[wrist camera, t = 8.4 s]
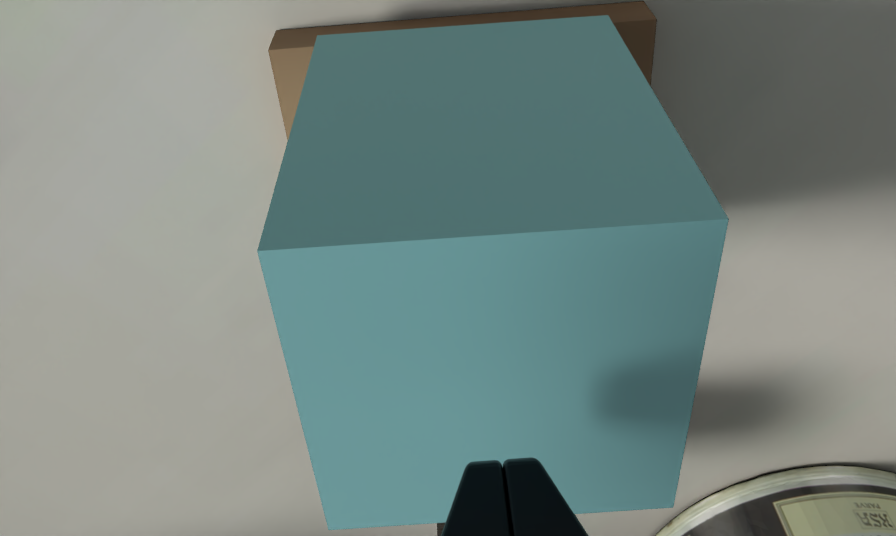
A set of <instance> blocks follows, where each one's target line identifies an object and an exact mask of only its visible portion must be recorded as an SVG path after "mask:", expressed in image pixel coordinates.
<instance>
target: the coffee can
mask: <svg viewBox="0 0 896 536" xmlns="http://www.w3.org/2000/svg"><path fill="white" fill-rule="evenodd" d="M655 536H896V474H894V473H892V472H886V471H881V470H875V469H869V468H863V467H855V466H818V467H809V468H800V469H794V470H789V471H784V472H779V473H773V474H767V475H764V476H760V477H758V478H756V479H754V480H750V481H747V482H743V483H740V484H737V485H734V486H731V487H729V488H727V489H725V490H722V491H720V492H717V493H715V494H713V495H711V496H709V497H707V498H705V499H703V500H702V501H699V502H698V503H696V504H694V505H693V506H691V507H690V508H688V509H686V510H685V511H683V512H682V513H680V514H679V515H678V516H677V517H675V518H674V519H673V520H671V521H670V522H669V523H668V524H667V525H666V526H664V527H663V528H662V529H661V530H660V531H659V532H658V533H657V534H656V535H655Z"/></svg>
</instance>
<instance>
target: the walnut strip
mask: <svg viewBox="0 0 896 536" xmlns="http://www.w3.org/2000/svg"><path fill="white" fill-rule="evenodd" d="M602 15H608V16H609V17H610V19H611V21H612V23H613V24H614V26H615V28H616V29H617V31H618V33H619V34H620V36H621V38H622V39H623V41H624V43H625V45H626V46H627V48H628V50H629V51H630V53H631V55H632V56H633V58H634V60H635V61H636V63H637V65H638V67H639V68H640V70H641V72H642V73H643V75H644V77H645V78H646V80H647V82H648V83H649V85H651V74H652V64H653V53H654V43H655V32H656V22H657V19H656V18H655V16H654V15H653V13H652V12H651V11H650V9H649V8H648V7H647V5H646V4H645V2H644V1H638V2H626V3H613V4H601V5H588V6H576V7H563V8H551V9H538V10H526V11H513V12H501V13H488V14H476V15H463V16H451V17H438V18H426V19H413V20H401V21H388V22H376V23H363V24H350V25H338V26H325V27H313V28H300V29H288V30H276V32H275V35H274V37H273V40H272V42H271V45H270V47H269V50H268V51H269V56H270V61H271V65H272V70H273V74H274V79H275V84H276V88H277V93H278V98H279V102H280V107H281V112H282V116H283V121H284V126H285V130H286V135H287V139H289V135H290V132H291V128H292V124H293V121H294V117H295V114H296V110H297V106H298V103H299V99H300V96H301V92H302V88H303V85H304V81H305V78H306V74H307V70H308V67H309V63H310V59H311V56H312V52H313V49H314V45H315V41H316V38H317V35H331V34H345V33H359V32H373V31H388V30H402V29H416V28H431V27H445V26H459V25H473V24H488V23H502V22H516V21H531V20H545V19H559V18H573V17H588V16H602Z"/></svg>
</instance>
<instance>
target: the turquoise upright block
mask: <svg viewBox="0 0 896 536" xmlns="http://www.w3.org/2000/svg"><path fill="white" fill-rule="evenodd" d="M728 220H729V219H728V217H727V215H726V214H725V212H724V210H723V209H722V207H721V205H720V203H719V202H718V200H717V198H716V197H715V195H714V193H713V192H712V190H711V188H710V187H709V185H708V183H707V181H706V180H705V178H704V176H703V175H702V173H701V171H700V170H699V168H698V166H697V165H696V163H695V161H694V160H693V158H692V156H691V154H690V153H689V151H688V149H687V148H686V146H685V144H684V143H683V141H682V139H681V138H680V136H679V134H678V132H677V131H676V129H675V127H674V126H673V124H672V122H671V121H670V119H669V117H668V116H667V114H666V112H665V110H664V109H663V107H662V105H661V104H660V102H659V100H658V99H657V97H656V95H655V94H654V92H653V90H652V88H651V87H650V85H649V83H648V82H647V80H646V78H645V77H644V75H643V73H642V72H641V70H640V68H639V67H638V65H637V63H636V61H635V60H634V58H633V56H632V55H631V53H630V51H629V50H628V48H627V46H626V45H625V43H624V41H623V39H622V38H621V36H620V34H619V33H618V31H617V29H616V28H615V26H614V24H613V23H612V21H611V19H610V17H609V16H608V15H602V16H588V17H573V18H559V19H545V20H531V21H516V22H502V23H488V24H473V25H459V26H445V27H431V28H416V29H402V30H388V31H373V32H359V33H345V34H331V35H317V38H316V41H315V45H314V49H313V52H312V56H311V59H310V63H309V67H308V70H307V74H306V78H305V81H304V85H303V88H302V92H301V96H300V99H299V103H298V106H297V110H296V114H295V117H294V121H293V124H292V128H291V132H290V135H289V139H288V142H287V146H286V150H285V153H284V157H283V160H282V164H281V168H280V171H279V175H278V178H277V182H276V186H275V189H274V193H273V196H272V200H271V204H270V207H269V211H268V215H267V218H266V222H265V225H264V229H263V233H262V236H261V240H260V243H259V247H258V251H257V252H258V256H259V260H260V263H261V267H262V271H263V275H264V279H265V283H266V287H267V291H268V295H269V299H270V303H271V306H272V310H273V314H274V318H275V322H276V326H277V330H278V334H279V338H280V342H281V346H282V350H283V353H284V357H285V361H286V365H287V369H288V373H289V377H290V381H291V385H292V389H293V393H294V396H295V400H296V404H297V408H298V412H299V416H300V420H301V424H302V428H303V432H304V436H305V440H306V443H307V447H308V451H309V455H310V459H311V463H312V467H313V471H314V475H315V479H316V483H317V487H318V490H319V494H320V498H321V502H322V506H323V510H324V514H325V518H326V522H327V526H328V530H338V529H353V528H368V527H383V526H399V525H414V524H429V523H444V522H446V520H447V517H448V514H449V511H450V509H451V506H452V503H453V500H454V497H455V494H456V492H457V489H458V486H459V483H460V480H461V477H462V475H463V472H464V469H465V467H466V466H467V464H468V463H470V462H474V461H488V460H497V461H499V462H500V463H501V464H502V467H503V463H504V461H505V460H507V459H515V458H529V457H533V458H536V459H538V460H539V461H540V462H541V464H542V465H543V467H544V468H545V470H546V471H547V473H548V474H549V476H550V477H551V479H552V481H553V482H554V484H555V485H556V487H557V488H558V490H559V491H560V493H561V494H562V496H563V497H564V499H565V501H566V502H567V504H568V505H569V507H570V508H571V510H572V511H573V513H574V514H582V513H597V512H612V511H627V510H643V509H658V508H673V506H674V500H675V495H676V490H677V485H678V480H679V475H680V469H681V464H682V459H683V454H684V449H685V443H686V438H687V433H688V428H689V423H690V417H691V412H692V407H693V402H694V397H695V391H696V386H697V381H698V376H699V371H700V365H701V360H702V355H703V350H704V345H705V339H706V334H707V329H708V324H709V319H710V313H711V308H712V303H713V298H714V293H715V287H716V282H717V277H718V272H719V267H720V262H721V256H722V251H723V246H724V241H725V236H726V230H727V225H728Z"/></svg>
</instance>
